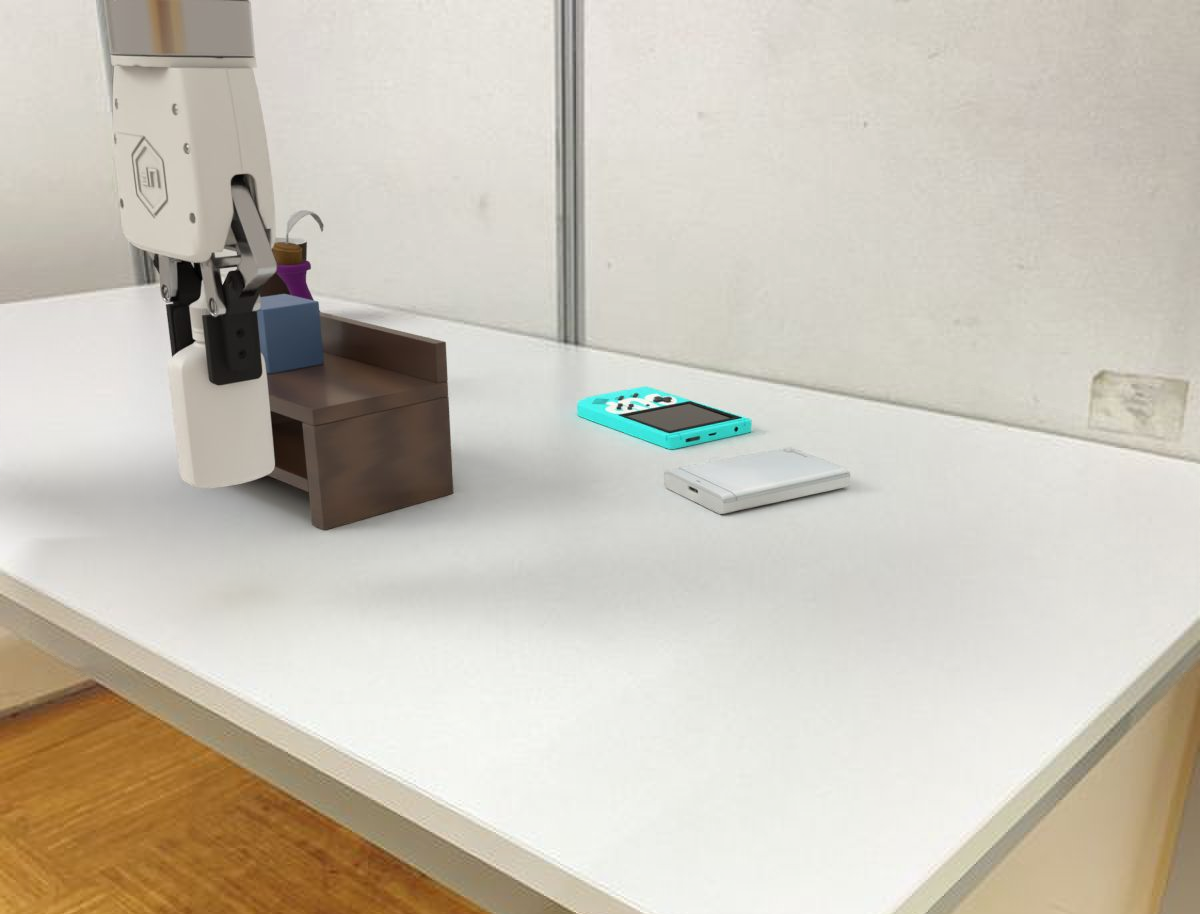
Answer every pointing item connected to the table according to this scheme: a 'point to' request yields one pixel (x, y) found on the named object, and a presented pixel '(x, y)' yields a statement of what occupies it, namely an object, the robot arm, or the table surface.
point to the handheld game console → (662, 417)
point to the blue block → (289, 333)
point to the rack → (364, 423)
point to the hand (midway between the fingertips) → (217, 371)
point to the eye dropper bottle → (218, 417)
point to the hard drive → (755, 479)
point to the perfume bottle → (294, 259)
